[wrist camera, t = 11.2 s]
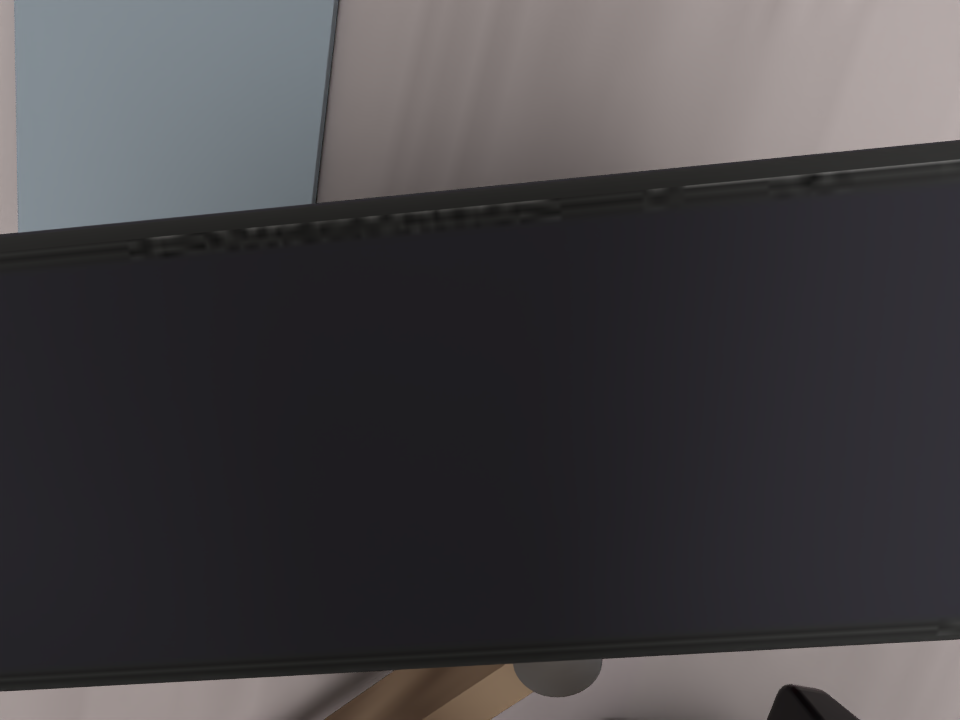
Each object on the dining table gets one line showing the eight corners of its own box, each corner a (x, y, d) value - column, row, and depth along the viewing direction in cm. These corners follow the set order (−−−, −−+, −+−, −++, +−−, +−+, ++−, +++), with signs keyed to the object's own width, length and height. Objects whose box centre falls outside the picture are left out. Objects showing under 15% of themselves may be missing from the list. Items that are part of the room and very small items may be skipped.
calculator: (336, 361, 19) (-151, 789, 5) (316, 228, 18) (-371, 268, 4) (672, 332, 19) (1260, 724, 4) (670, 194, 18) (1419, 91, 3)
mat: (360, -190, 16) (356, -201, 15) (305, 290, 19) (301, 292, 19) (21, -262, 15) (9, -274, 15) (28, 235, 19) (18, 236, 18)
